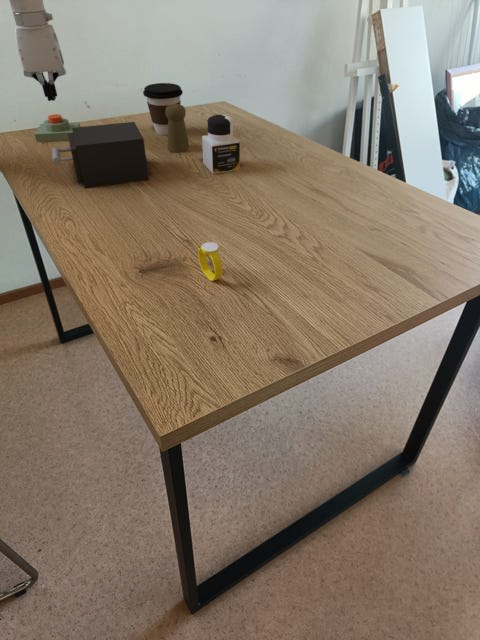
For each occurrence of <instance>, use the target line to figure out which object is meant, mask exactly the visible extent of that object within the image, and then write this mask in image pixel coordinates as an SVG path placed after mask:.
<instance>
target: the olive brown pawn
mask: <svg viewBox="0 0 480 640" xmlns="http://www.w3.org/2000/svg"><path fill="white" fill-rule="evenodd" d="M165 113H166V117H167V118H168V135H167V148H166V149H167V151H169V152H171V153H185V152H187V151H189V150H190V143H189V142H190V141H189V138H188V137H189V136H188V132H187V127H186V122H185V118H186V114H187V113H186V108H185V106H184V105H182V104H181V103H180V104H171V105H168V106H167V107H166V111H165Z"/></svg>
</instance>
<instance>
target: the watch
mask: <svg viewBox="0 0 480 640" xmlns="http://www.w3.org/2000/svg"><path fill="white" fill-rule="evenodd" d="M197 251H198V252H197V257H198V263H199V266H200V269H201V271H202V273H203V274H204V275H205V276H206V277H207V278H208V280H209V281H210V282H214V281H218V280H220V279H221V278H222V276H223V263H222V259H221V257H220V254H219V245H218V243H216V242H212V241H207V242H205V243H203V244H202V245H201V246H200V247H199V249H198V250H197ZM207 255H208V256H209V257H210V259H211V261H212V264H213V268H214V270H213V271H212V269H211V268H210V265H209V263H208V259H207Z"/></svg>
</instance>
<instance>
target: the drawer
mask: <svg viewBox="0 0 480 640" xmlns="http://www.w3.org/2000/svg"><path fill="white" fill-rule="evenodd" d="M68 137H69V141H68V143H69V147H68V148H67V147H66V148H58V147H56V146H54V147H52V149H51V154H52V156H51V157H52V162H53V165H56V166H58V165H61V163H62V162H72V161H73V166H74V170H75V174H76V178H77V182H78V185H83V184H84V180H83V176H82V171H81V167H80V162H79V158H78V154H77V149H76V145H75V140H74V135H73V133H68ZM66 152H71V153H70V154H71V156H70V157H69V156H68V157H61V153H66Z"/></svg>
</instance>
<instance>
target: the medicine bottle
mask: <svg viewBox="0 0 480 640" xmlns="http://www.w3.org/2000/svg"><path fill="white" fill-rule="evenodd" d="M201 140H202V141H201V142H202V144H201V145H202V162H203V163H202V164H203V165H204V167H206V168H207V169H208V171H209V172H210V173H211V174H212V175H218V174H224V173H230V172H236V171H240V167H241V165H240V162H241V161H240V159H241V158H240V157H241V155H240V153H241V152H240V151H241V150H240V149H241V148H240V147H241V144H240V143H241V141H240V140H239V139H238V138H236V136H234V119H233V118H232V117H231V116H229V115H227V114H214V115H211V116H209V117H208V118H207V134H206V135H202V136H201Z"/></svg>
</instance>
